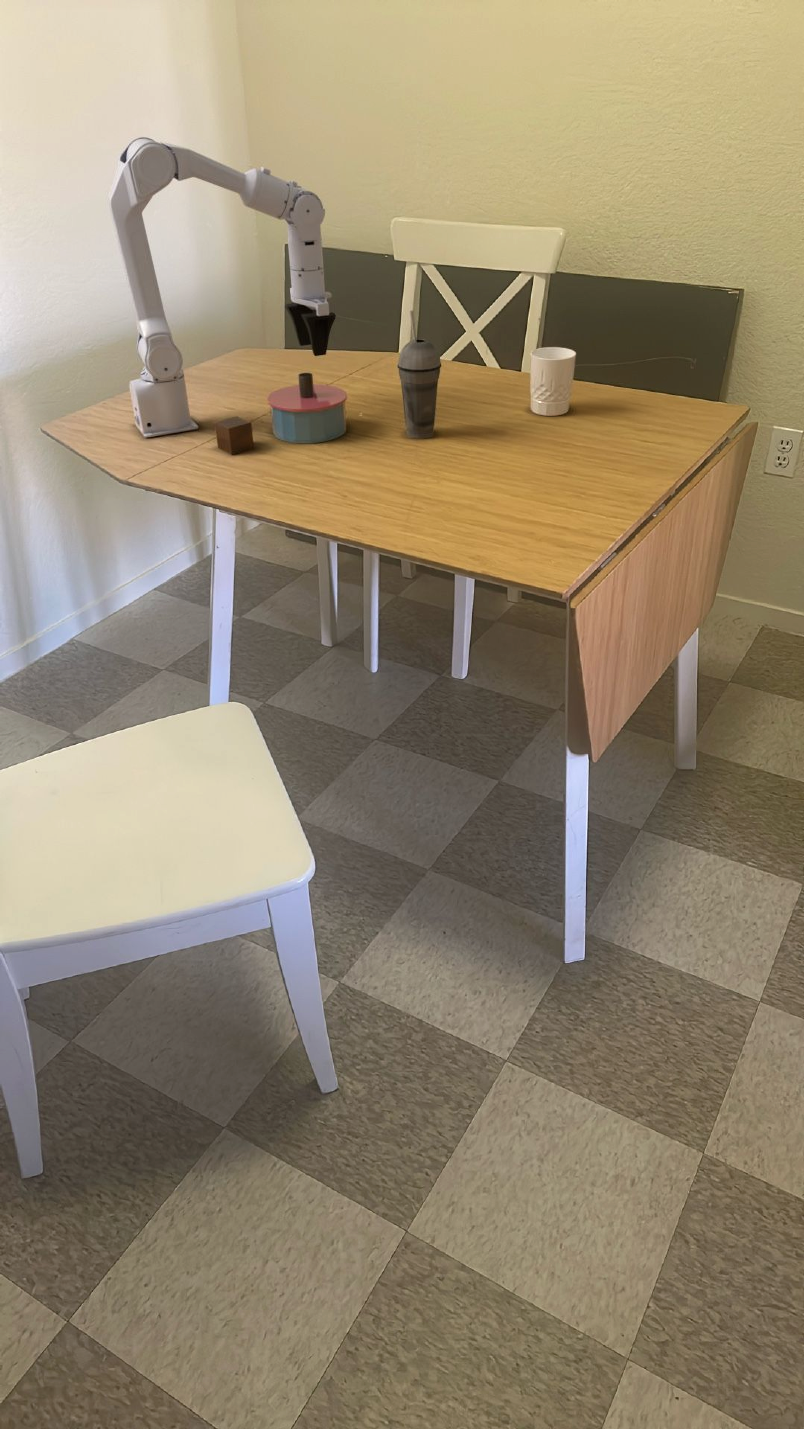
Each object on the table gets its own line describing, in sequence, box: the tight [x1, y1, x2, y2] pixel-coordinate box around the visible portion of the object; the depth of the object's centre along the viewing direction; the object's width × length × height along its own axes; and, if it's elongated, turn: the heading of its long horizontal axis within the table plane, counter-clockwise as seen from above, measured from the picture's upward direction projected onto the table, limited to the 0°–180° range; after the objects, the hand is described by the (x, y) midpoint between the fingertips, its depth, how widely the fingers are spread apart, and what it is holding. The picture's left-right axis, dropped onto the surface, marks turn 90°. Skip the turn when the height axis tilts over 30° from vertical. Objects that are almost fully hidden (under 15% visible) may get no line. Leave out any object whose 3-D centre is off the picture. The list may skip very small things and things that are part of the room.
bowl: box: [269, 401, 347, 444], centre depth 168 cm, size 13×13×6 cm
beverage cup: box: [397, 310, 442, 440], centre depth 161 cm, size 7×7×20 cm
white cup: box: [529, 346, 577, 417], centre depth 172 cm, size 8×8×10 cm
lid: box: [266, 372, 348, 412], centre depth 165 cm, size 14×14×5 cm
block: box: [214, 415, 255, 455], centre depth 162 cm, size 4×4×4 cm
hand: (312, 349), depth 174 cm, fingers open, 7 cm apart
